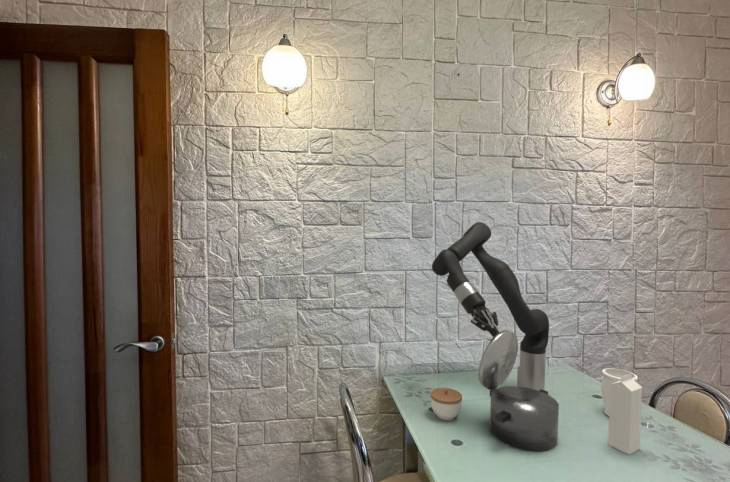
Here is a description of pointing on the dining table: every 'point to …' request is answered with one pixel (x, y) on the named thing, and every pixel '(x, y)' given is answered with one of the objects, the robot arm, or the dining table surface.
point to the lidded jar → (446, 403)
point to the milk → (625, 415)
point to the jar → (611, 377)
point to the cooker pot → (524, 418)
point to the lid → (498, 359)
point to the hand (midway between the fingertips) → (499, 339)
